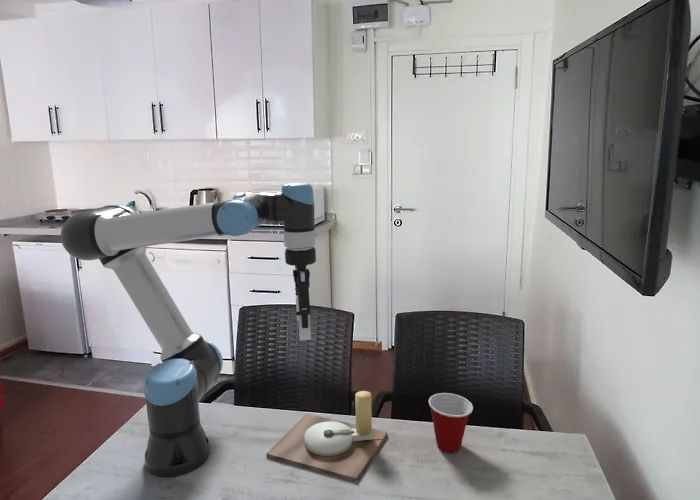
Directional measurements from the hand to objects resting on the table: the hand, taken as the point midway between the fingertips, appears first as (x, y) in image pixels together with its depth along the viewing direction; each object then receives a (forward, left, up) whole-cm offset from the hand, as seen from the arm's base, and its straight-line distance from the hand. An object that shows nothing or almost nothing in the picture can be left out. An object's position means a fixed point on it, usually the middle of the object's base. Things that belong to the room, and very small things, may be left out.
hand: (303, 329), depth 128 cm
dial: (+10, -2, -27) cm, 29 cm away
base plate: (+8, -3, -29) cm, 30 cm away
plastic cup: (+36, +8, -29) cm, 47 cm away
